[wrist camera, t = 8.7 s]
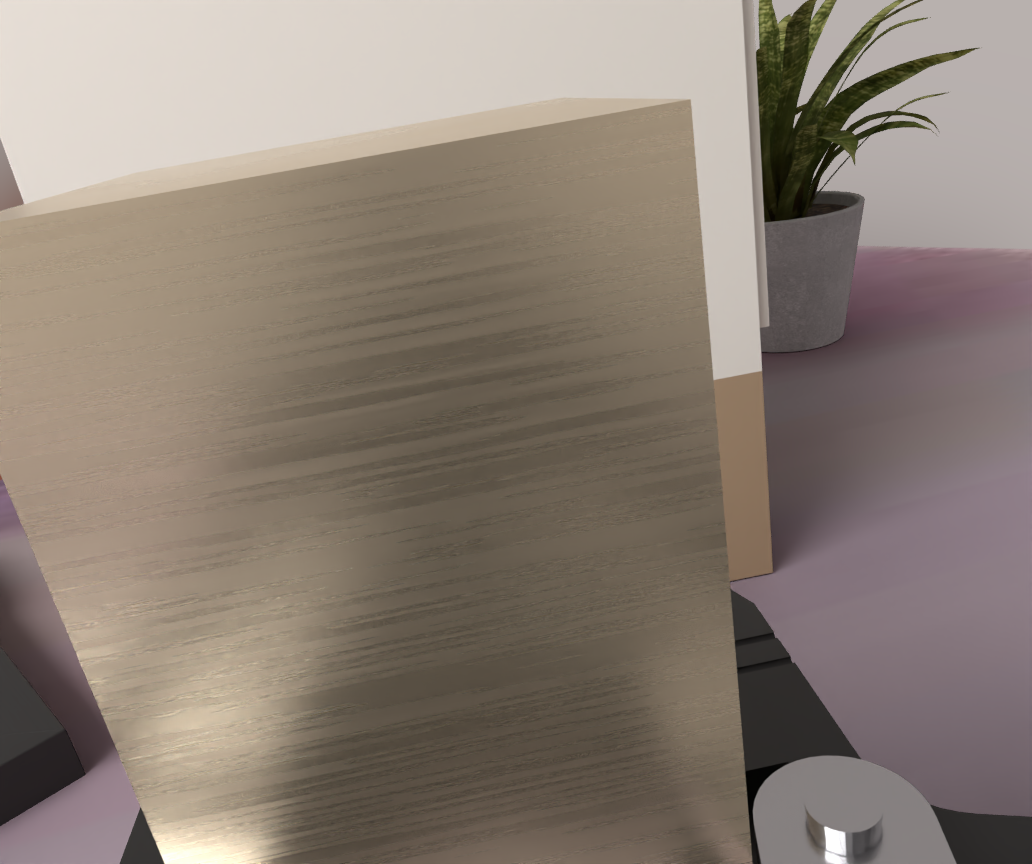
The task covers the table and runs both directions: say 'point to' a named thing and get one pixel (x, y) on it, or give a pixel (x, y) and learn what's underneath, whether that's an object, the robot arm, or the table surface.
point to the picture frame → (30, 746)
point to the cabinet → (410, 121)
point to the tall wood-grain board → (391, 490)
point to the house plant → (793, 160)
